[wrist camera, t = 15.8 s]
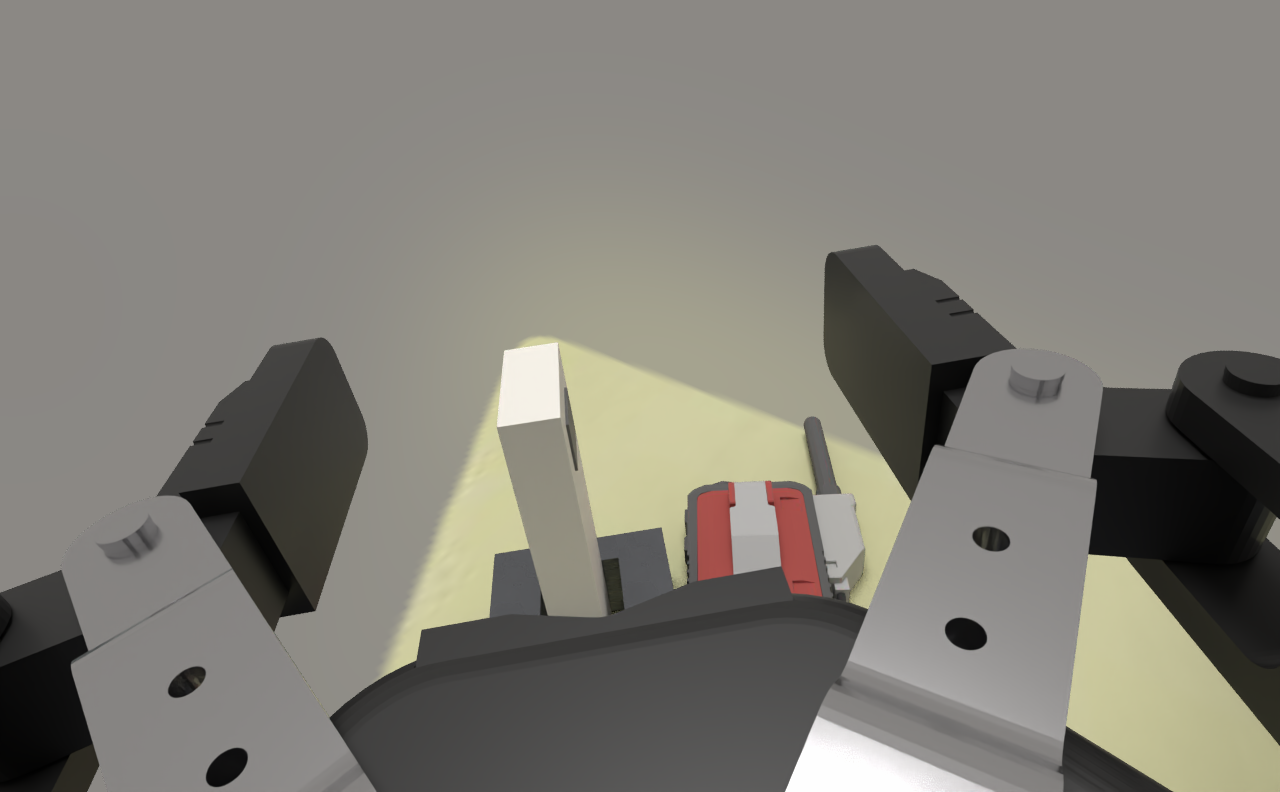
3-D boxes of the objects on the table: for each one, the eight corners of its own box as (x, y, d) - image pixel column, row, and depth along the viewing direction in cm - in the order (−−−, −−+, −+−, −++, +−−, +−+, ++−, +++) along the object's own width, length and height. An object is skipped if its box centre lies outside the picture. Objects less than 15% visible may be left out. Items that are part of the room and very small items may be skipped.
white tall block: (622, 704, 31) (563, 417, 23) (574, 712, 31) (496, 427, 22) (613, 612, 35) (560, 341, 27) (570, 619, 35) (504, 350, 27)
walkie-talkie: (907, 739, 28) (828, 436, 45) (919, 669, 26) (831, 376, 43) (685, 739, 29) (688, 443, 46) (677, 672, 27) (683, 385, 44)
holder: (704, 771, 28) (698, 717, 26) (499, 806, 28) (478, 755, 26) (667, 578, 36) (661, 527, 34) (510, 603, 36) (494, 553, 34)
